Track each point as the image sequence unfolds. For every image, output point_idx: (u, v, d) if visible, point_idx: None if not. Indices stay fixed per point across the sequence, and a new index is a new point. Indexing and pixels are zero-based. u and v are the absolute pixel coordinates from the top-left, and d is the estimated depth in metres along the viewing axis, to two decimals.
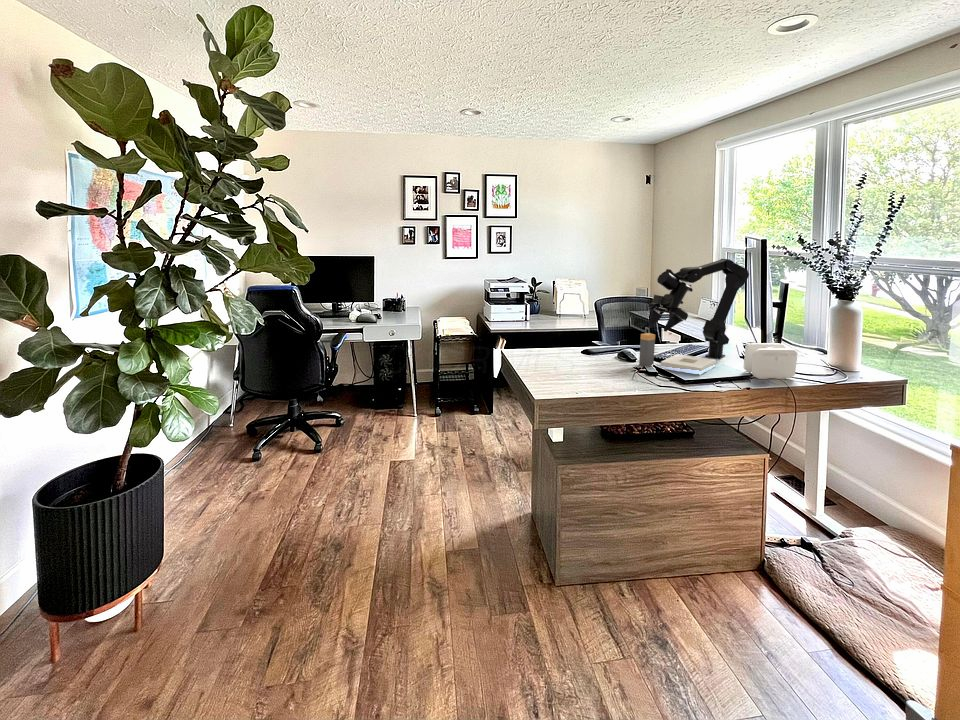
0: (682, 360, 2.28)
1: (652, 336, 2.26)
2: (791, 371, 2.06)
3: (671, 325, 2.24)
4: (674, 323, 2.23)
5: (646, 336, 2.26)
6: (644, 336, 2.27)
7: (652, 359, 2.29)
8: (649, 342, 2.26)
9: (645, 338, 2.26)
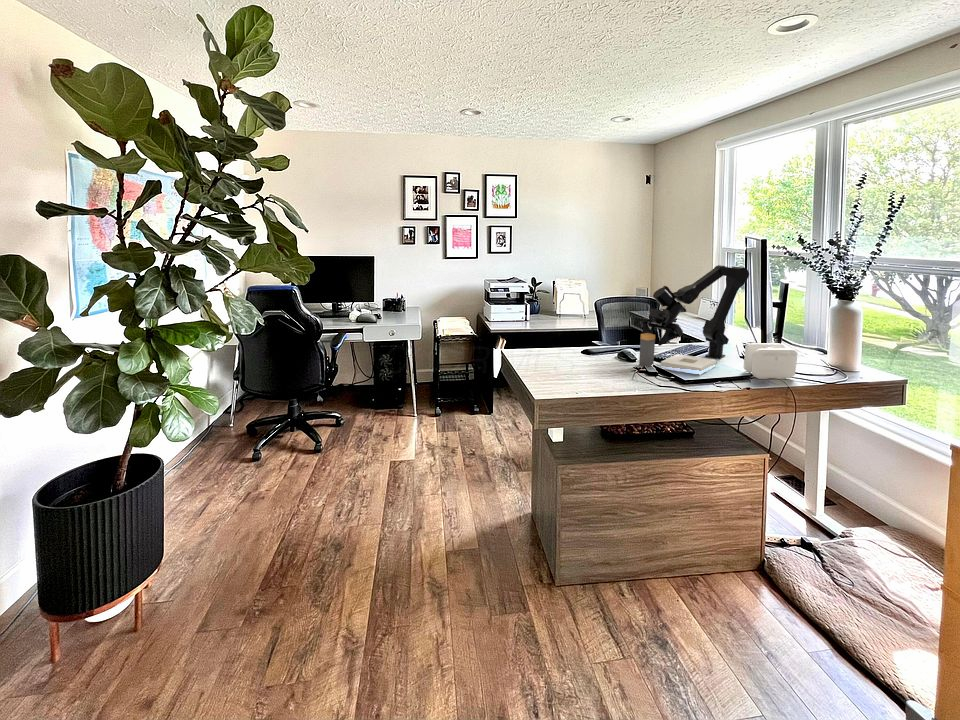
0: (682, 360, 2.28)
1: (652, 336, 2.26)
2: (791, 371, 2.06)
3: (665, 340, 2.26)
4: (668, 339, 2.26)
5: (646, 336, 2.26)
6: (644, 336, 2.27)
7: (652, 359, 2.29)
8: (649, 342, 2.26)
9: (645, 338, 2.26)
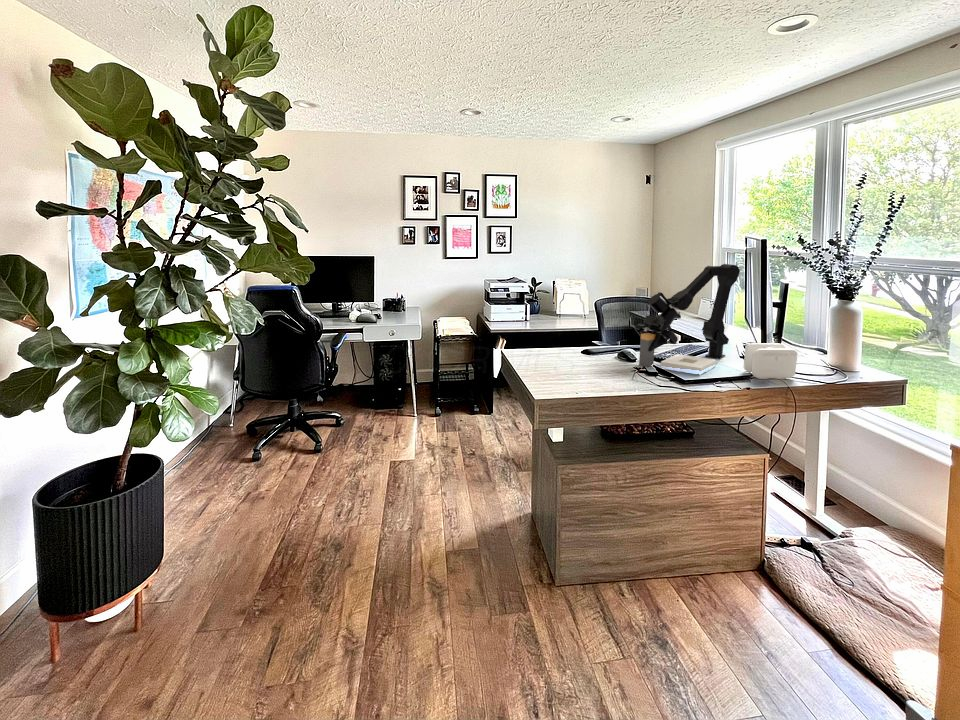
0: (682, 360, 2.28)
1: (652, 336, 2.26)
2: (791, 371, 2.06)
3: (656, 346, 2.27)
4: (658, 344, 2.27)
5: (646, 336, 2.26)
6: (644, 336, 2.27)
7: (652, 359, 2.29)
8: (649, 342, 2.26)
9: (645, 338, 2.26)
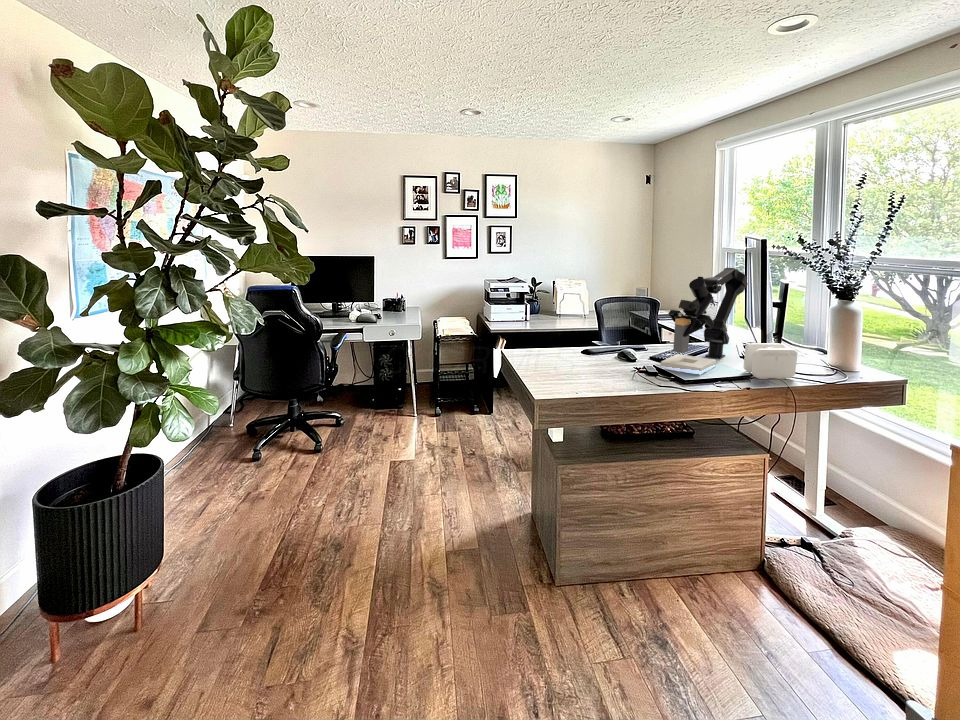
0: (682, 360, 2.28)
1: (687, 321, 2.20)
2: (791, 371, 2.06)
3: (691, 331, 2.21)
4: (694, 330, 2.21)
5: (681, 321, 2.20)
6: (679, 321, 2.21)
7: (687, 345, 2.23)
8: (684, 327, 2.20)
9: (680, 323, 2.21)
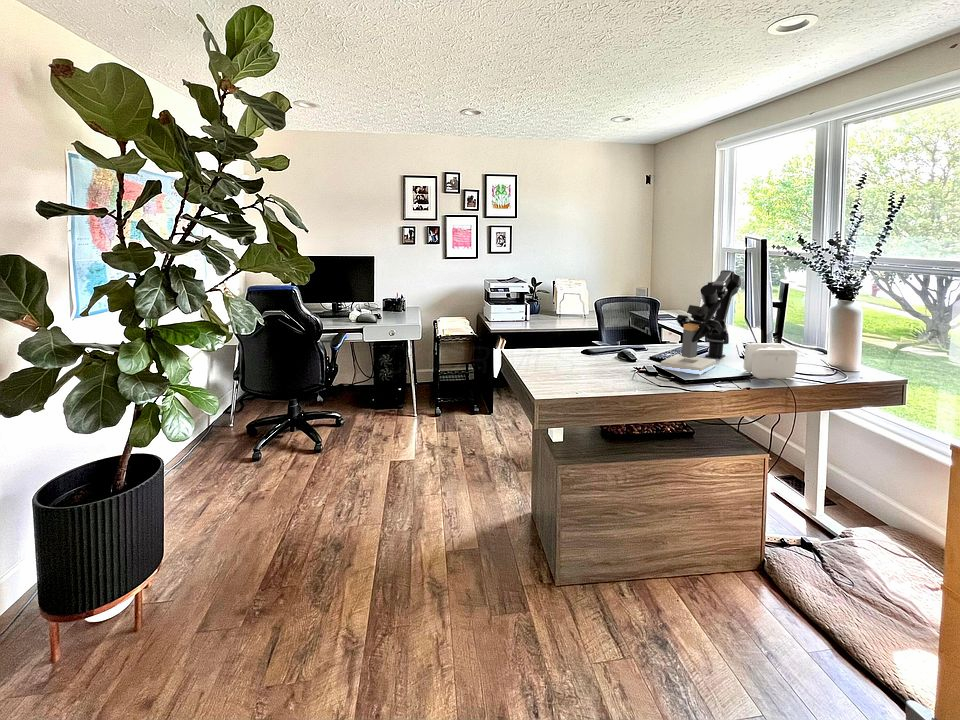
0: (682, 360, 2.28)
1: (696, 326, 2.20)
2: (791, 371, 2.06)
3: (699, 336, 2.20)
4: (702, 335, 2.20)
5: (690, 326, 2.19)
6: (687, 326, 2.20)
7: (695, 350, 2.23)
8: (693, 332, 2.20)
9: (688, 328, 2.20)
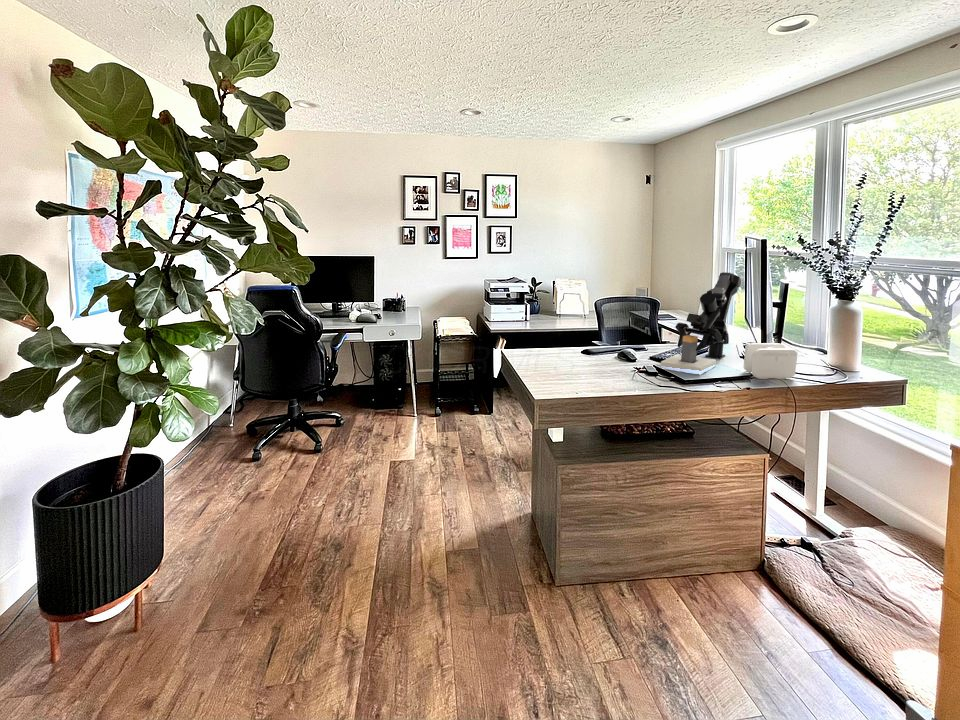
0: None
1: (695, 338, 2.21)
2: (791, 371, 2.06)
3: (703, 346, 2.19)
4: (706, 344, 2.19)
5: (689, 338, 2.20)
6: (686, 338, 2.21)
7: (694, 362, 2.24)
8: (692, 344, 2.21)
9: (688, 340, 2.21)
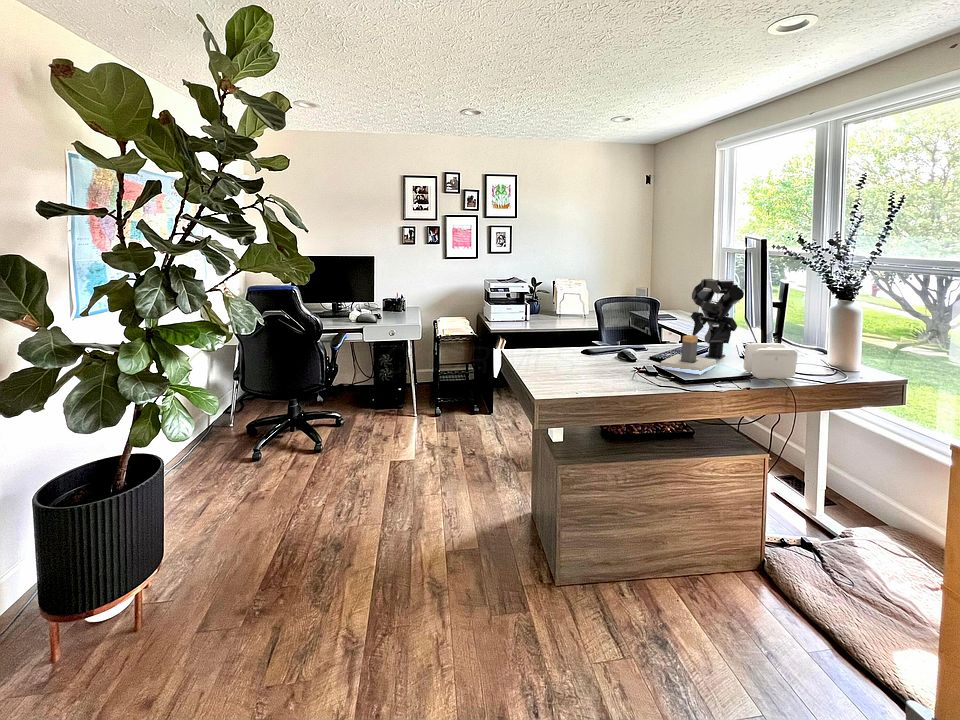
0: None
1: (695, 338, 2.21)
2: (791, 371, 2.06)
3: (719, 334, 2.23)
4: (722, 332, 2.23)
5: (689, 338, 2.20)
6: (686, 338, 2.21)
7: (694, 362, 2.24)
8: (692, 344, 2.21)
9: (688, 340, 2.21)
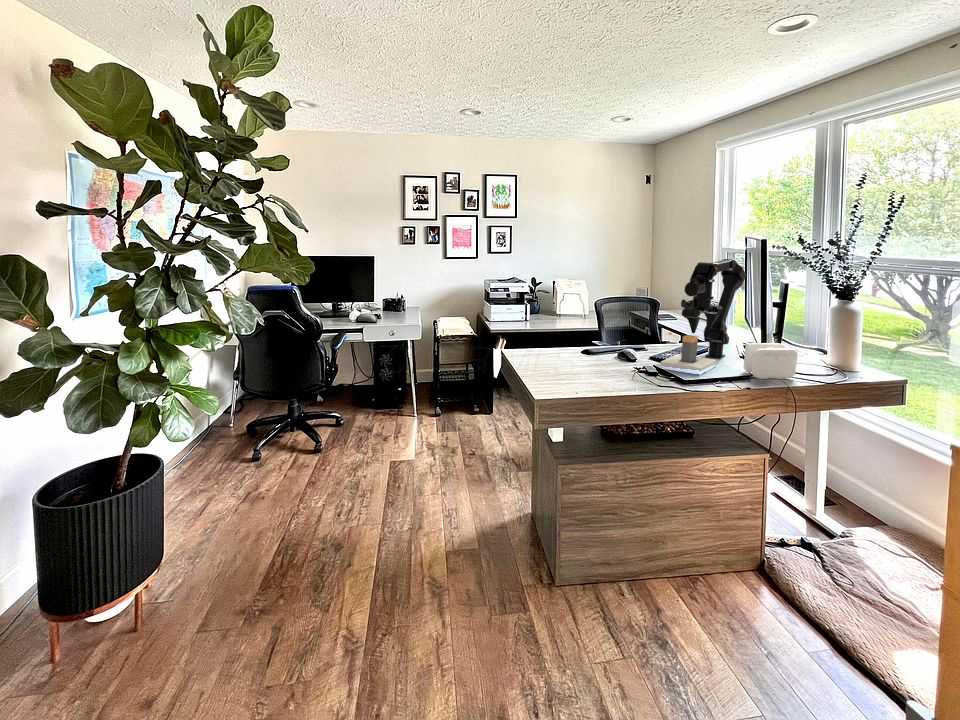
0: None
1: (695, 338, 2.21)
2: (791, 371, 2.06)
3: (693, 325, 2.26)
4: (694, 323, 2.25)
5: (689, 338, 2.20)
6: (686, 338, 2.21)
7: (694, 362, 2.24)
8: (692, 344, 2.21)
9: (688, 340, 2.21)
